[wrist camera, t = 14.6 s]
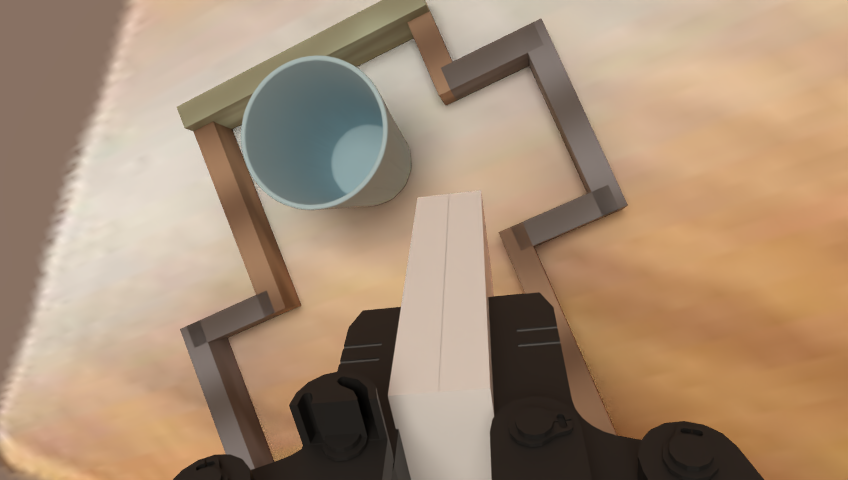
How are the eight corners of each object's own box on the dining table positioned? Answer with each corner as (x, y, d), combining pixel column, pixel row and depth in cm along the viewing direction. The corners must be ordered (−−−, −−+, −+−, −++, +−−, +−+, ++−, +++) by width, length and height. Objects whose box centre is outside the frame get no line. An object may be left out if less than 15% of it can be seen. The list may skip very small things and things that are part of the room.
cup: (453, 152, 41) (418, 115, 30) (380, 246, 41) (322, 241, 31) (364, 83, 42) (302, 25, 32) (295, 175, 43) (212, 148, 32)
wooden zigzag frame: (736, 454, 37) (755, 473, 33) (304, 605, 41) (282, 635, 38) (509, -37, 40) (505, -65, 37) (137, 154, 45) (103, 145, 42)
